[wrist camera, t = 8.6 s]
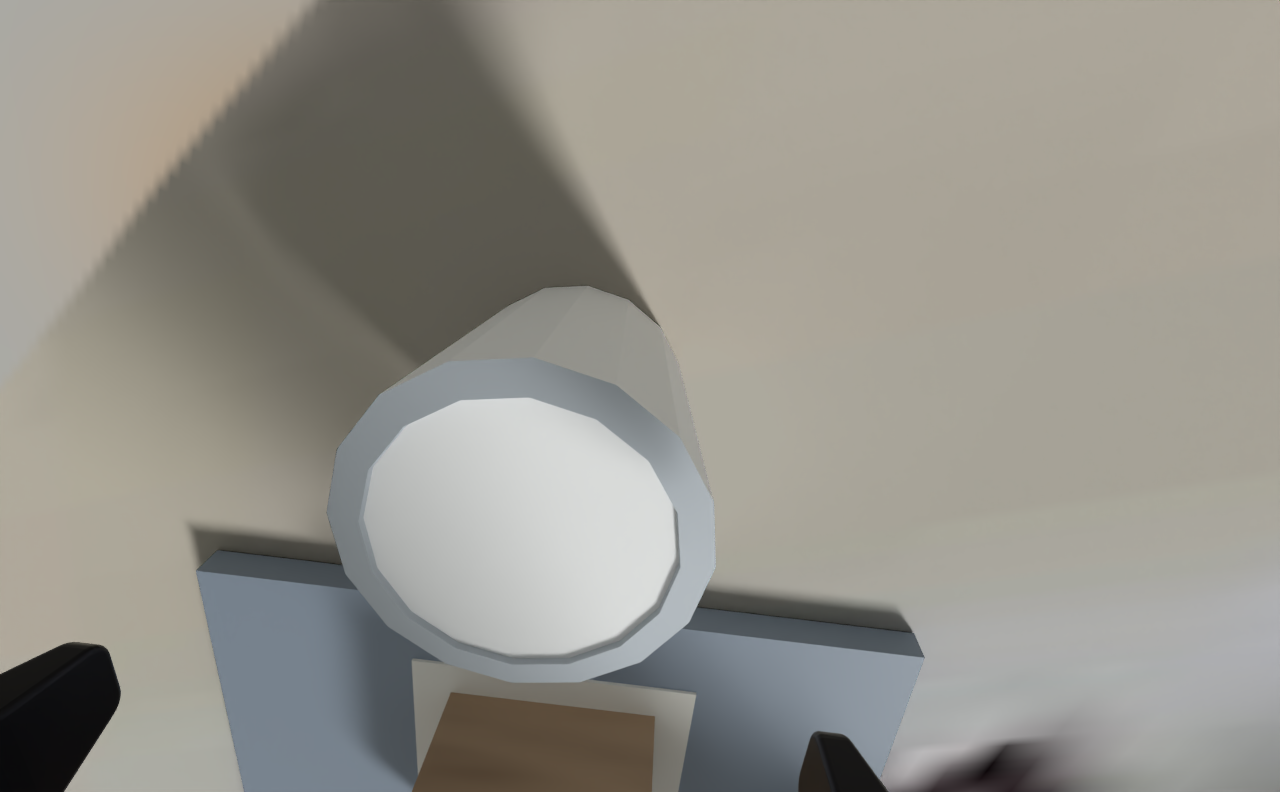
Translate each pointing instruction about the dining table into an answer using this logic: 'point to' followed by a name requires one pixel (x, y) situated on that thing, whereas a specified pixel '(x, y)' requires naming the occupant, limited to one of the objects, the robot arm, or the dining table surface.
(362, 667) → the board
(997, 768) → the dining table surface
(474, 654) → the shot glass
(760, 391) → the dining table surface
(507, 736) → the walnut block
